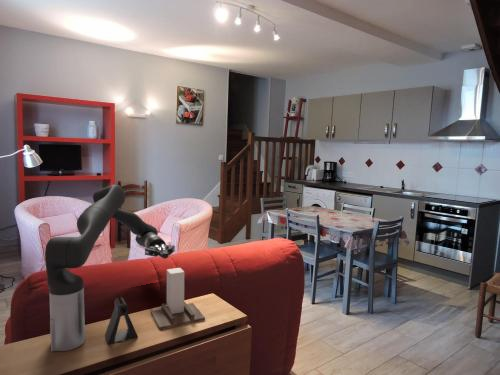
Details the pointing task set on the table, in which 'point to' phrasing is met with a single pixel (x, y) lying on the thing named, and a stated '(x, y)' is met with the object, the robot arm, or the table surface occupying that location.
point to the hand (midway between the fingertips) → (165, 256)
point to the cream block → (175, 290)
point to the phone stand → (111, 331)
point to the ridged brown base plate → (176, 316)
